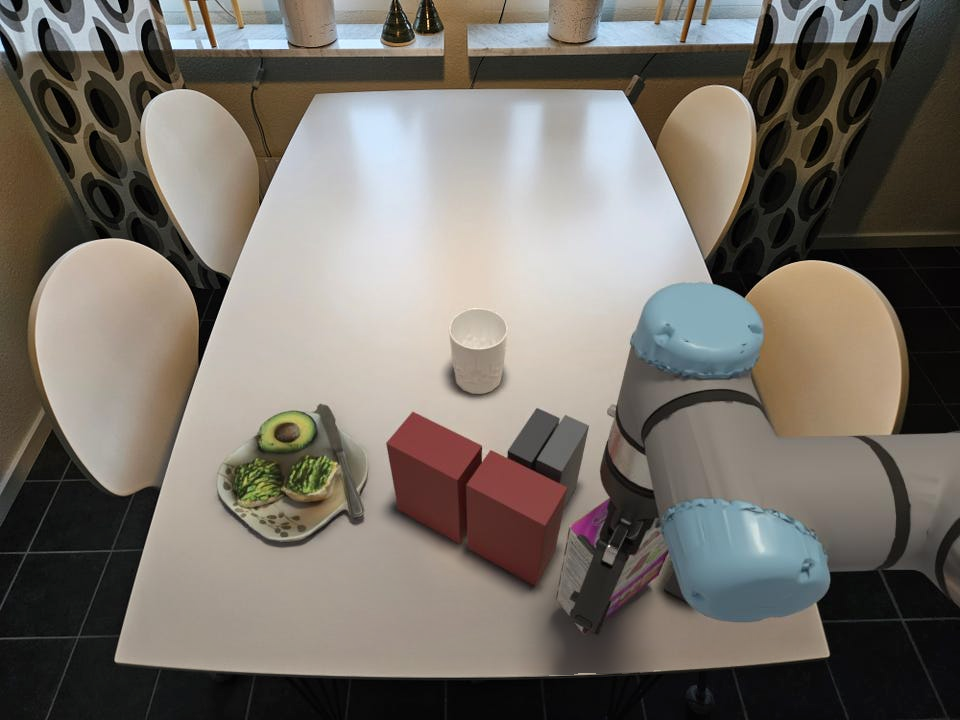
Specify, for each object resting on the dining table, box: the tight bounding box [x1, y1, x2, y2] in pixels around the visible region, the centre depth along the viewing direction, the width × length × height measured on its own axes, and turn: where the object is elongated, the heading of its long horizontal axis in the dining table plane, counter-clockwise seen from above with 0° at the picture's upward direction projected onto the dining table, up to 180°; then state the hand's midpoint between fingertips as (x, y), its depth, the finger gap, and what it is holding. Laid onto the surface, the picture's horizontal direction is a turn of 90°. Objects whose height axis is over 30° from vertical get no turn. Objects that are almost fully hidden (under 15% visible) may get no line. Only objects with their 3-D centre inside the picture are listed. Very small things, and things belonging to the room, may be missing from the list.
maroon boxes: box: [385, 411, 567, 587], centre depth 72 cm, size 5×19×14 cm, turn 59°
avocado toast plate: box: [216, 403, 369, 543], centre depth 80 cm, size 19×18×5 cm
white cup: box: [448, 307, 509, 395], centre depth 90 cm, size 8×8×10 cm
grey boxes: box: [506, 407, 687, 602], centre depth 73 cm, size 7×24×13 cm, turn 59°
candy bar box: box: [555, 497, 669, 636], centre depth 63 cm, size 11×5×16 cm, turn 126°
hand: (611, 572), depth 67 cm, fingers closed on candy bar box, 12 cm apart
